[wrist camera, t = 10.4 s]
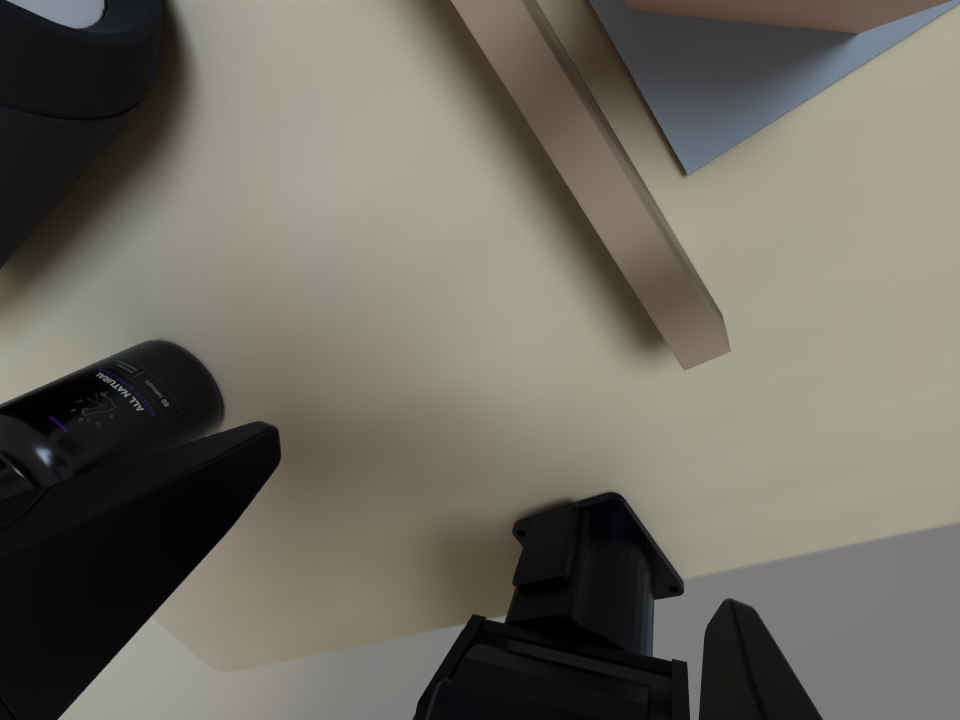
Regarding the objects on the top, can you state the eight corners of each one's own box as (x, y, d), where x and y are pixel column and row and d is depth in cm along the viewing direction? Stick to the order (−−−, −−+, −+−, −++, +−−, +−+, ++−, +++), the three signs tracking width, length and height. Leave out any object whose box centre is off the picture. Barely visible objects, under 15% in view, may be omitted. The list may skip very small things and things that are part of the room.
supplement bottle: (209, 344, 27) (-53, 481, 18) (238, 438, 31) (32, 599, 21) (123, 328, 30) (-154, 443, 20) (159, 418, 33) (-62, 555, 23)
